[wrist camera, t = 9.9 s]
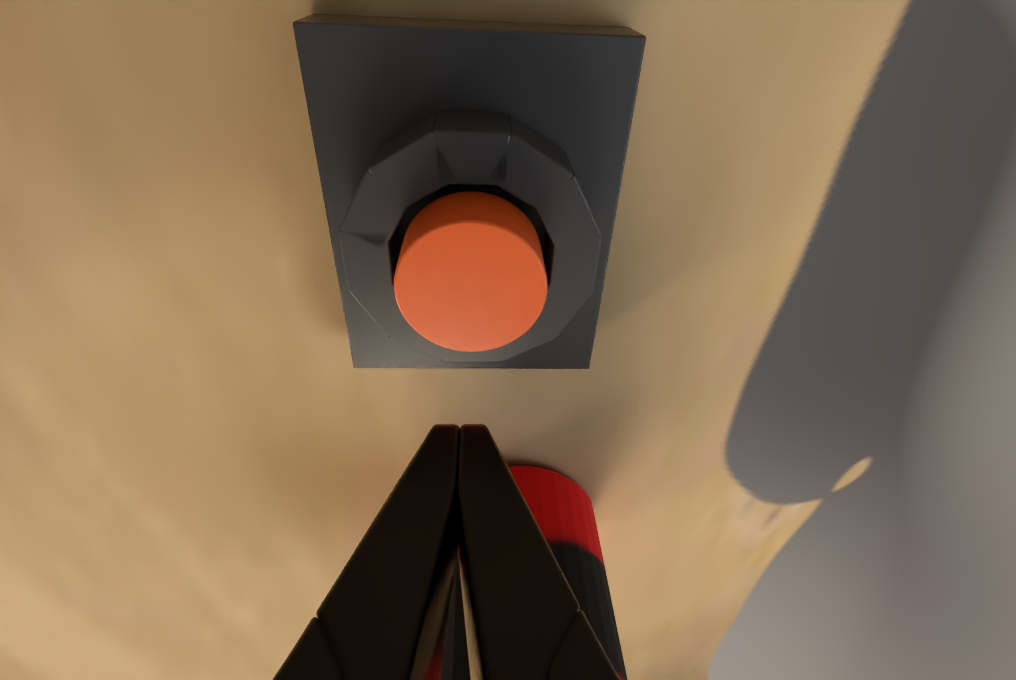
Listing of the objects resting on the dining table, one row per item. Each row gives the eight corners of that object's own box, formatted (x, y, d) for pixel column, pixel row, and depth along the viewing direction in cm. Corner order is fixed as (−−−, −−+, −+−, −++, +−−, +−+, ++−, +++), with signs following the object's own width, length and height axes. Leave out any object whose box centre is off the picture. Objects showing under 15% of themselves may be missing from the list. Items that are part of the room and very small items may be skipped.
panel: (581, 340, 19) (598, 405, 17) (362, 338, 19) (342, 406, 16) (630, 27, 13) (669, 47, 11) (311, 13, 13) (264, 32, 10)
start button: (535, 314, 15) (541, 353, 13) (407, 313, 15) (400, 352, 13) (546, 191, 13) (554, 222, 11) (396, 188, 12) (385, 219, 11)
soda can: (403, 511, 25) (356, 859, 16) (523, 436, 22) (556, 804, 13) (507, 570, 29) (520, 882, 19) (621, 512, 26) (705, 843, 16)
